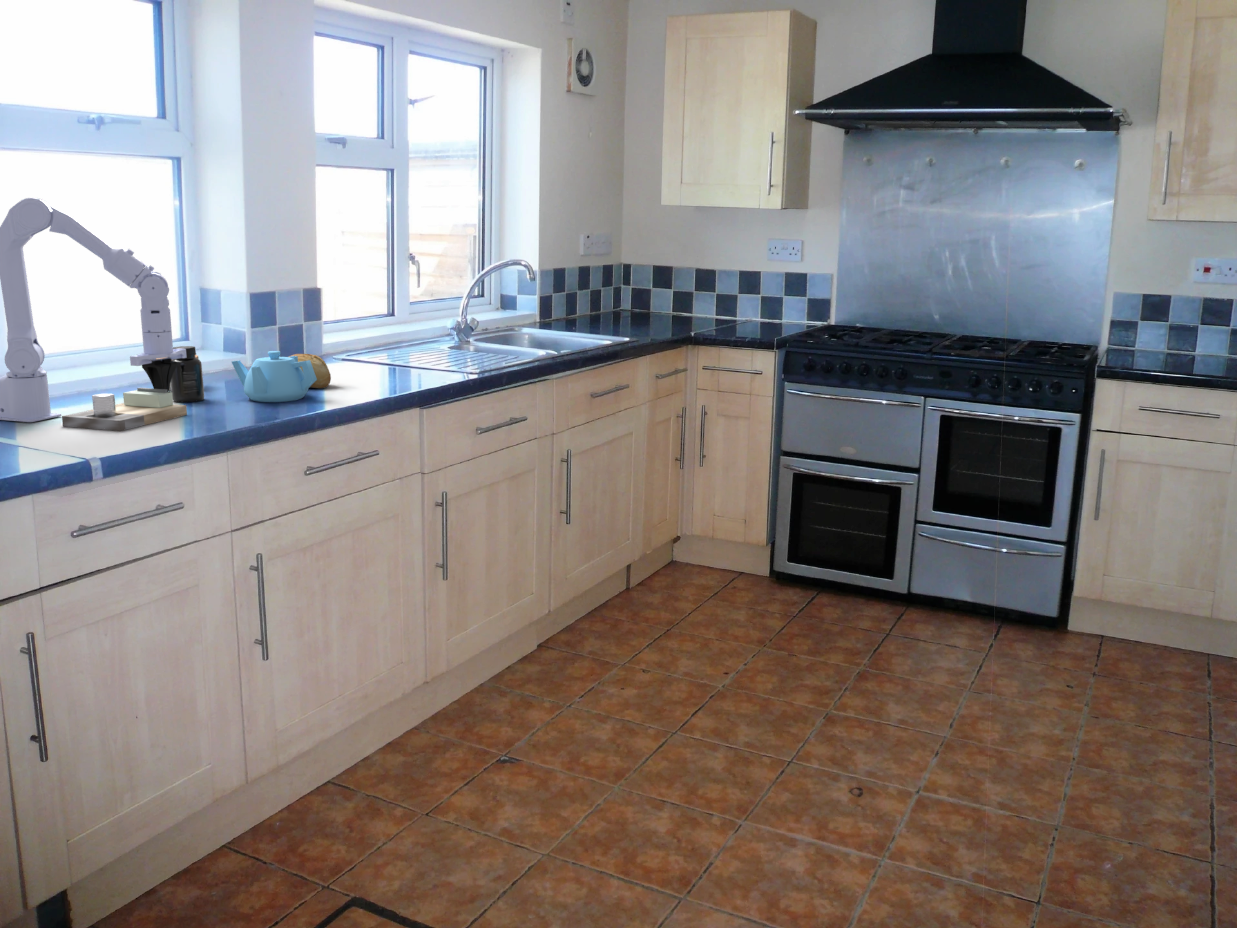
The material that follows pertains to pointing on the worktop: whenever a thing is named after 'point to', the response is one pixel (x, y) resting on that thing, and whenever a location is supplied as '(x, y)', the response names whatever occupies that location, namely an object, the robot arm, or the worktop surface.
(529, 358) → the worktop surface
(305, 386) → the teapot
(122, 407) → the housing
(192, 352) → the supplement bottle
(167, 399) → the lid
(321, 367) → the bread roll
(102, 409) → the peg
